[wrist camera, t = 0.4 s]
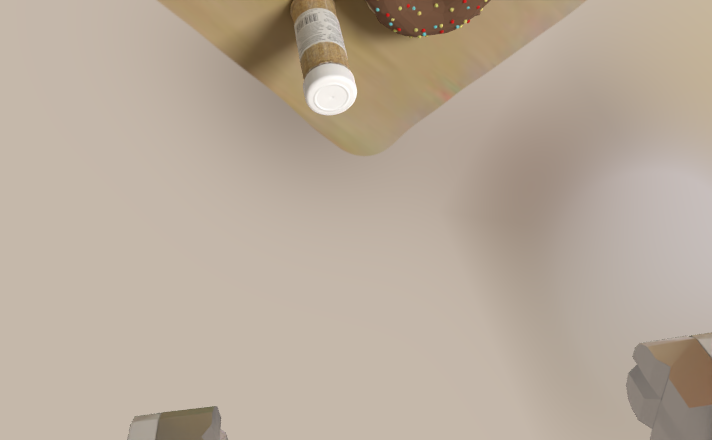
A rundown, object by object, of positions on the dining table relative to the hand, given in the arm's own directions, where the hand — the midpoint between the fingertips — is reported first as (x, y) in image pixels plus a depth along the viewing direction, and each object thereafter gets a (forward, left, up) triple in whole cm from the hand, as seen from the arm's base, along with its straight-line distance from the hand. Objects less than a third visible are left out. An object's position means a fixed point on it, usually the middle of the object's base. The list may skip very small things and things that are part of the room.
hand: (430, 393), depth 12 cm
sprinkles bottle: (+20, +16, -51) cm, 57 cm away
